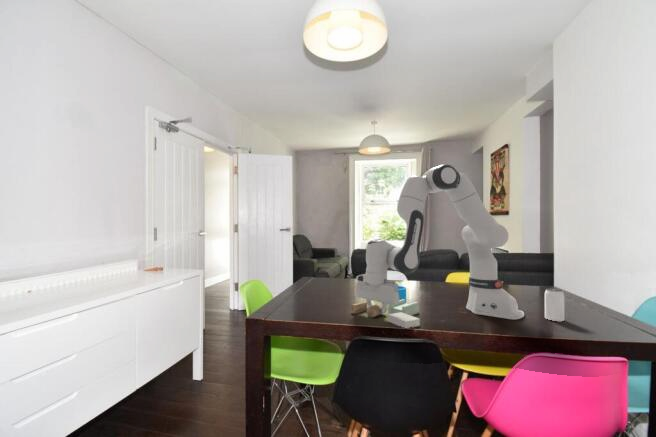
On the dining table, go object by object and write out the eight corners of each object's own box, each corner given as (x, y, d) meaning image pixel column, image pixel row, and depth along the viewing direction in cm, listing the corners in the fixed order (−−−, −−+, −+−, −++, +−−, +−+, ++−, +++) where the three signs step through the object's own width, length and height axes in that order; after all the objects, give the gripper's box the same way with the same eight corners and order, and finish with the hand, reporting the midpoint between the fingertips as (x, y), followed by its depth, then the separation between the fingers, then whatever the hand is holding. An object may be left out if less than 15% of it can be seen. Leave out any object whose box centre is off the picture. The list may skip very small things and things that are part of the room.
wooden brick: (366, 310, 138) (367, 302, 138) (355, 313, 132) (355, 305, 132) (363, 309, 139) (363, 301, 139) (351, 312, 133) (351, 304, 133)
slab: (419, 326, 117) (419, 318, 117) (405, 329, 114) (405, 321, 114) (401, 319, 126) (401, 312, 126) (387, 322, 122) (387, 314, 122)
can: (559, 323, 120) (558, 292, 121) (541, 318, 126) (541, 289, 126) (567, 320, 123) (567, 290, 124) (550, 316, 129) (549, 287, 129)
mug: (408, 307, 143) (408, 289, 143) (390, 307, 143) (390, 289, 143) (402, 300, 155) (402, 284, 155) (385, 300, 155) (385, 284, 155)
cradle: (418, 312, 134) (418, 302, 134) (404, 318, 126) (404, 307, 126) (402, 308, 140) (402, 298, 140) (388, 314, 132) (388, 303, 132)
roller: (386, 314, 130) (386, 303, 130) (375, 318, 125) (375, 307, 125) (378, 312, 133) (378, 302, 133) (366, 316, 128) (366, 305, 128)
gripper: (402, 280, 124) (402, 315, 124) (362, 274, 139) (362, 305, 138) (393, 282, 120) (393, 318, 119) (353, 276, 134) (353, 308, 134)
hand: (376, 311), depth 129 cm, fingers closed on roller, 4 cm apart
